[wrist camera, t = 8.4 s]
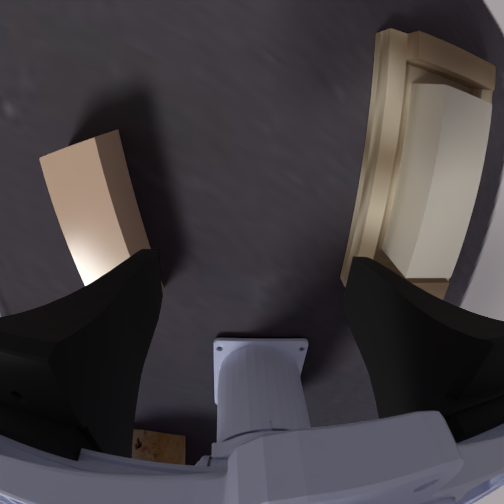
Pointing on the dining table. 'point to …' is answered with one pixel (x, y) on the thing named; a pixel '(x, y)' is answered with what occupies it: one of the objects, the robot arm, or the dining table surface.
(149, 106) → the dining table surface
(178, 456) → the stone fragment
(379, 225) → the wooden tray
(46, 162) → the fired bar
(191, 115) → the dining table surface
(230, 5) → the dining table surface
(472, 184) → the clay bar
